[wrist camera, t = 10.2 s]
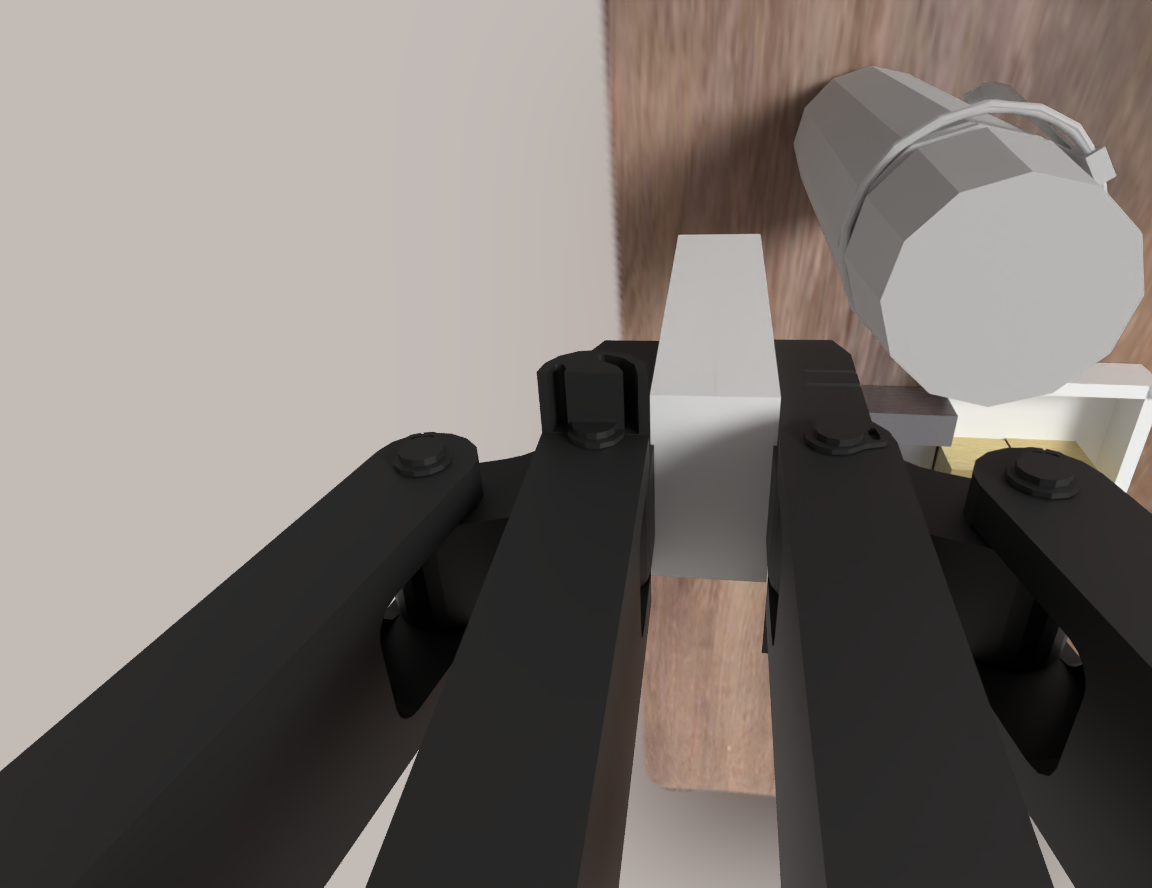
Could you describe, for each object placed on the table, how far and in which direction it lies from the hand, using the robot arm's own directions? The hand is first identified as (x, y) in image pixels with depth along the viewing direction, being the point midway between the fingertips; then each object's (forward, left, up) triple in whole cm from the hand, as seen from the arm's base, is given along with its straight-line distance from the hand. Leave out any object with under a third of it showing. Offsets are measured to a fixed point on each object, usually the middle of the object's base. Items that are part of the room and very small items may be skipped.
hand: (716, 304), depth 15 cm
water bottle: (+2, +8, -32) cm, 33 cm away
